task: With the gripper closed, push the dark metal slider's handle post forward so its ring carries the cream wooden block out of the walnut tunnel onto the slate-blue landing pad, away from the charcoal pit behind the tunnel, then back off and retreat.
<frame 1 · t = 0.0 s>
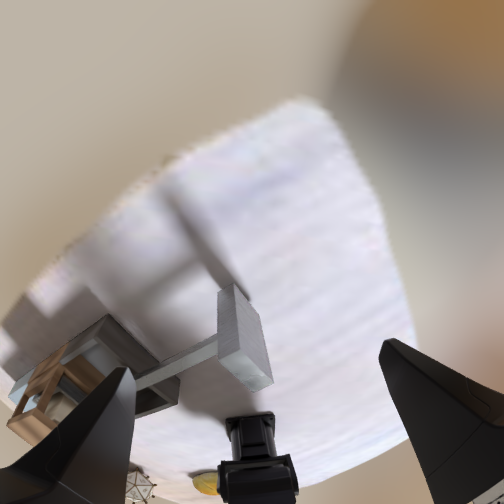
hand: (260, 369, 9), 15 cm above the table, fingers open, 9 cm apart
block: (75, 403, 24), point 3 cm above the table, touching tunnel
game die: (137, 470, 39), on the table
tunnel: (83, 383, 28), on the table
slider: (122, 392, 22), point 5 cm above the table, slide at 0.0 cm
landing pad: (52, 398, 29), on the table
bread roll: (215, 476, 42), on the table
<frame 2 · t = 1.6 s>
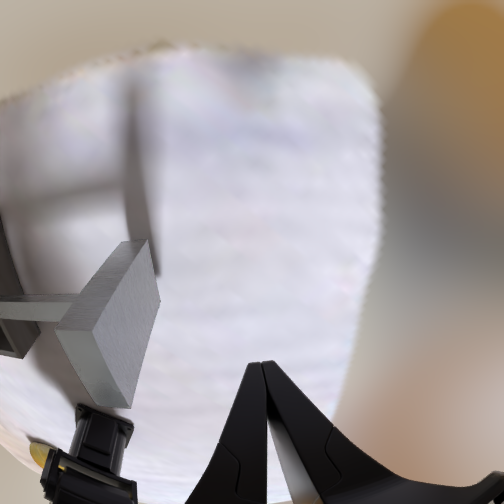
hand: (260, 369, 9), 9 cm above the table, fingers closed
bread roll: (54, 452, 28), on the table
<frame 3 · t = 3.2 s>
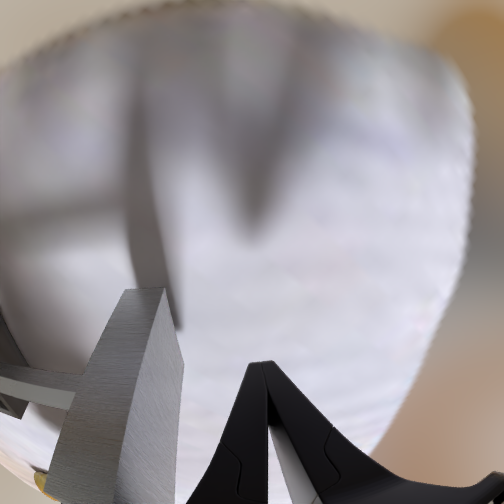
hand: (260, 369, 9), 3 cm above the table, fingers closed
bread roll: (61, 481, 23), on the table
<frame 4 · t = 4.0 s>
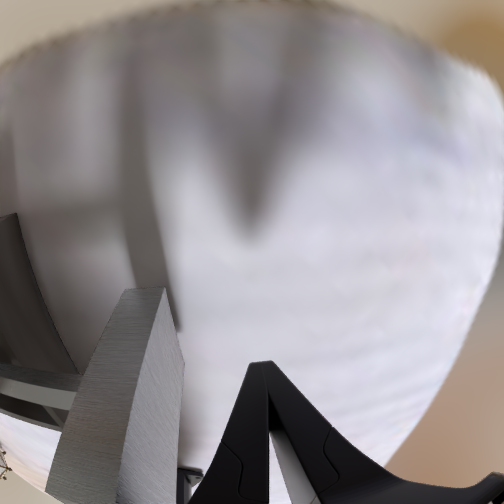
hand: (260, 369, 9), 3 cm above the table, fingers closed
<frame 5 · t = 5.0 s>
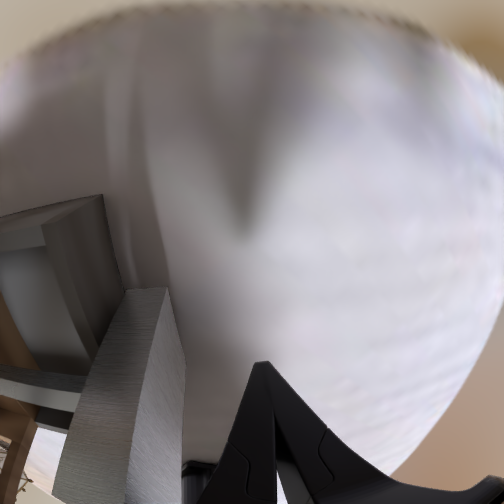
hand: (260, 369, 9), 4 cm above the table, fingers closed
game die: (11, 450, 19), on the table
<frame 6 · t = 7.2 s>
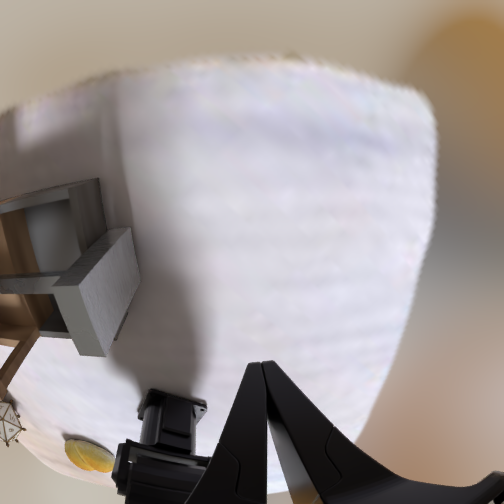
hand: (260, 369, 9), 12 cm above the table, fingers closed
game die: (10, 403, 26), on the table
tunnel: (4, 261, 18), on the table
bread roll: (91, 449, 31), on the table
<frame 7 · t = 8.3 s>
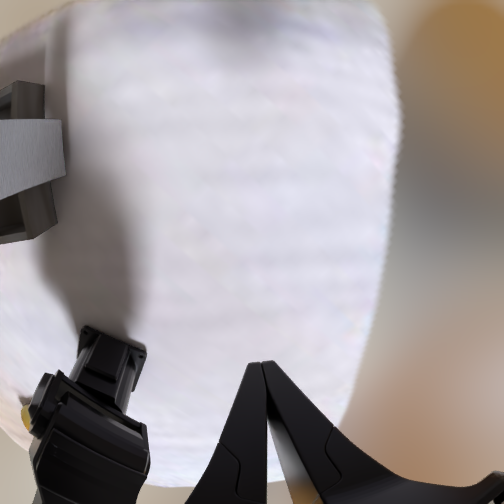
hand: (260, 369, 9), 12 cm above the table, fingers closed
bread roll: (48, 418, 28), on the table
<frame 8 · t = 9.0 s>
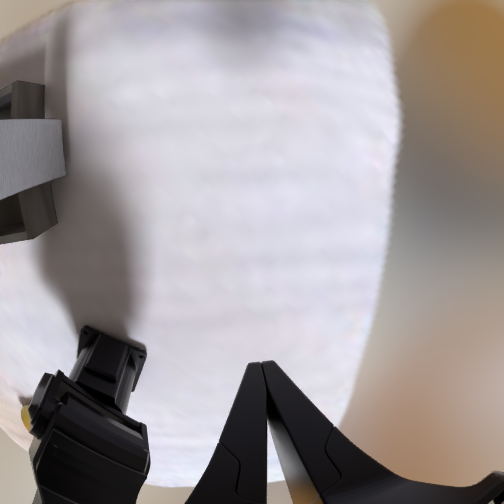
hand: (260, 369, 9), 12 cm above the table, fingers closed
bread roll: (48, 418, 28), on the table
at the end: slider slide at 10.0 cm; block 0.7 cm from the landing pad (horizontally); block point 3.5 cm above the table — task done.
